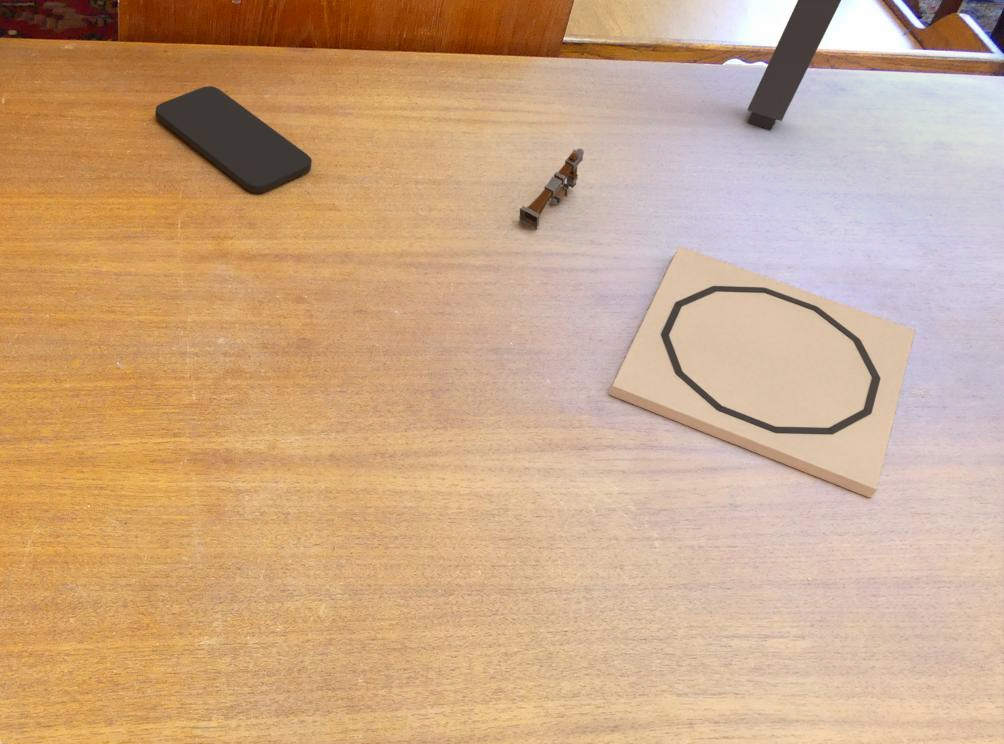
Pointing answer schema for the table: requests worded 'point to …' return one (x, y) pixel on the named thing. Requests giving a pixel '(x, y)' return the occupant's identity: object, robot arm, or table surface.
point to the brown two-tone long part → (553, 189)
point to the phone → (233, 139)
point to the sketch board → (769, 369)
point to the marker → (790, 60)
